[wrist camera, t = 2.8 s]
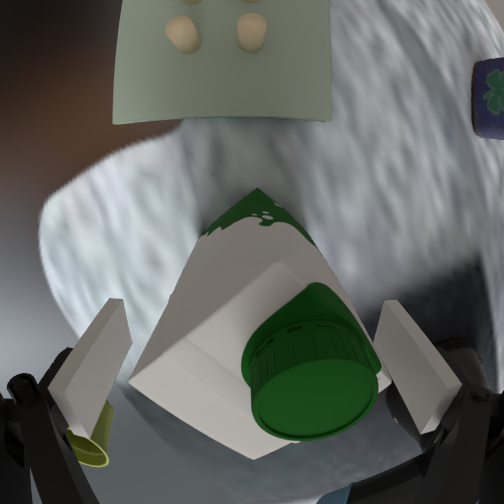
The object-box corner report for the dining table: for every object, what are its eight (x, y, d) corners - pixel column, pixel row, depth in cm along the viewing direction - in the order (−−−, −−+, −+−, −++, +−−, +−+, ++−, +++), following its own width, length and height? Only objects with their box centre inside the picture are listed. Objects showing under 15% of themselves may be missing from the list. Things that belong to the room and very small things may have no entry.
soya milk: (321, 244, 28) (428, 415, 9) (248, 304, 30) (251, 502, 11) (257, 172, 25) (289, 257, 7) (183, 241, 27) (86, 416, 9)
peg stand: (321, -41, 18) (334, -70, 13) (326, 121, 24) (345, 116, 19) (136, -36, 17) (117, -61, 12) (119, 124, 23) (90, 121, 18)
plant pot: (68, 368, 33) (41, 412, 25) (130, 399, 35) (112, 449, 26) (65, 404, 36) (44, 444, 28) (119, 431, 37) (104, 474, 29)
